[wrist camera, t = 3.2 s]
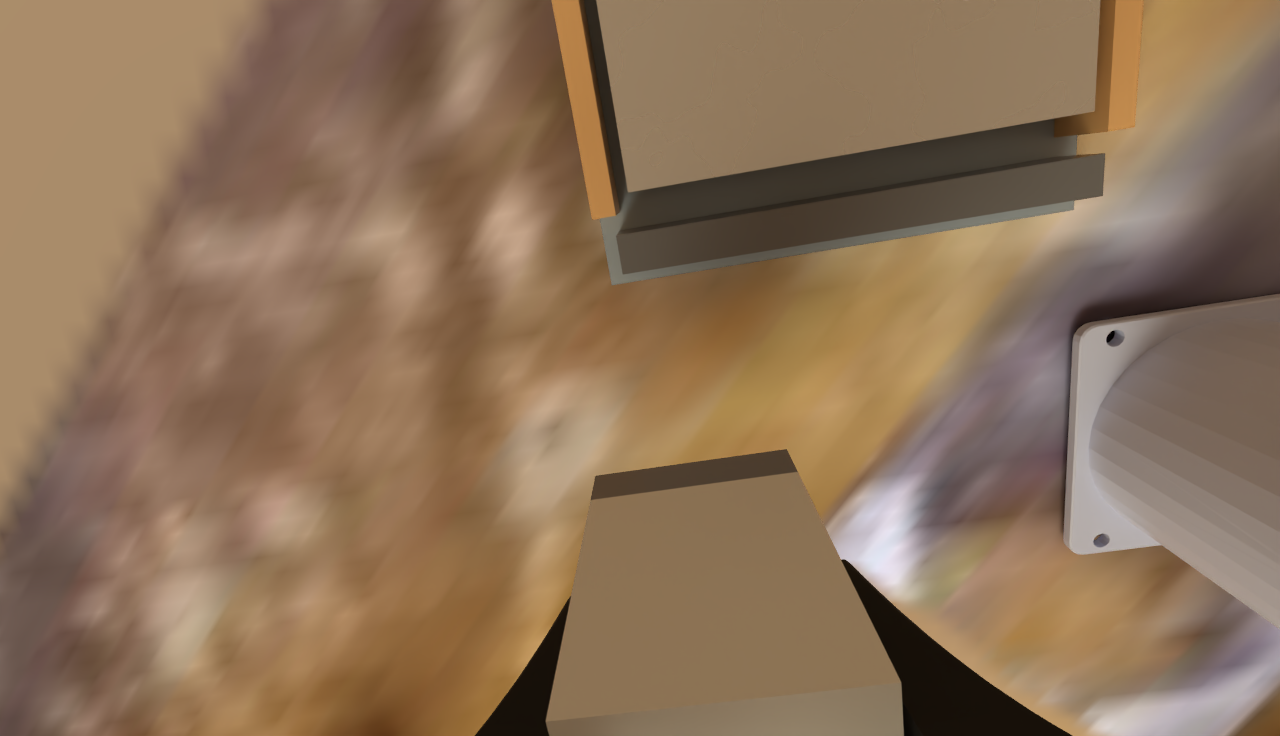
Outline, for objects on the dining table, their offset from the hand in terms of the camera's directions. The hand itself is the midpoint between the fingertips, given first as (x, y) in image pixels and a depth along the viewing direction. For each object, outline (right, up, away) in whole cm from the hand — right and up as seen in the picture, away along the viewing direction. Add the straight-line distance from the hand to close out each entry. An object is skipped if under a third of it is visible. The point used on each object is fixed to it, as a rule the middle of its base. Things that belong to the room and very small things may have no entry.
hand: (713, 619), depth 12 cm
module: (0, +1, +2) cm, 2 cm away
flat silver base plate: (+3, +13, +3) cm, 14 cm away
